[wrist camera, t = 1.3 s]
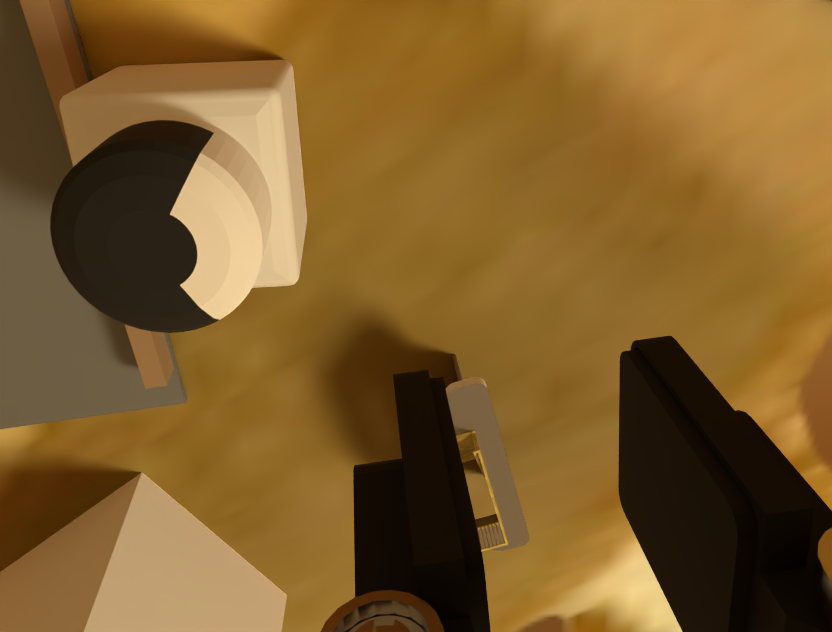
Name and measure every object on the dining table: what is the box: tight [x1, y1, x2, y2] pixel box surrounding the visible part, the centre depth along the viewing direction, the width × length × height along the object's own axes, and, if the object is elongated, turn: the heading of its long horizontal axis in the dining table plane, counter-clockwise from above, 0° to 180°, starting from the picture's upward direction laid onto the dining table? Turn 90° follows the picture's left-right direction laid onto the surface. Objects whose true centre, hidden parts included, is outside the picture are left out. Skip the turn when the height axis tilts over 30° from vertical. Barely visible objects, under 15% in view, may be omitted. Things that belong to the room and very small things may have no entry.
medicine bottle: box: [50, 60, 307, 333], centre depth 27 cm, size 7×7×12 cm
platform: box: [446, 355, 529, 551], centre depth 37 cm, size 12×18×7 cm, turn 16°
